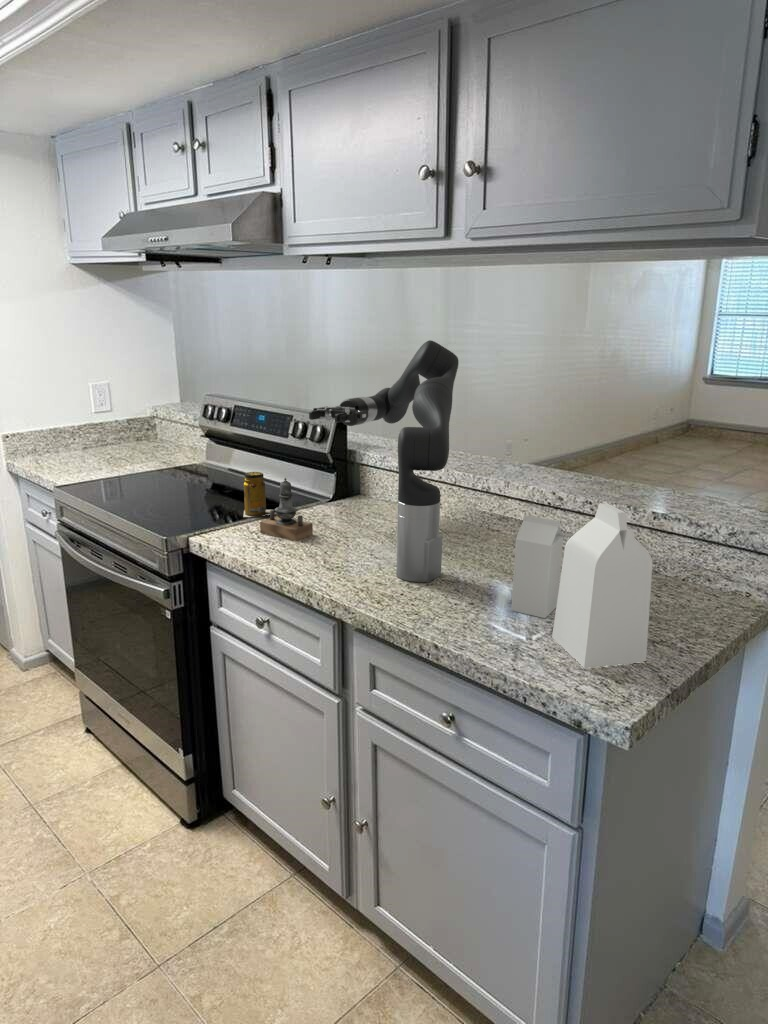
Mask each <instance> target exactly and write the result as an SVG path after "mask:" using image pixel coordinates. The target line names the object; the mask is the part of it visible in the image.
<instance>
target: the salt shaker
mask: <svg viewBox="0 0 768 1024" xmlns="http://www.w3.org/2000/svg"><path fill="white" fill-rule="evenodd" d="M278 496H279V506H278V507H276V508H274V512H275V514H276V516H278V517H279V518H280V519H279V520H278V521H276V523H277V524H279V525H292V524H295V523H296V521H295V520H296V519H295V518H294V517H296V514H297V511H298V508H297V507H295V506H294V505H293V501H292V498H293V496H294V495H293V494H292V484H291V482H290V481H288V480H287V478H286V477H284V480H283V481H281V482H280V484H279V494H278ZM294 519H295V520H294Z"/></svg>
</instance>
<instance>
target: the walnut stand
mask: <svg viewBox="0 0 768 1024" xmlns="http://www.w3.org/2000/svg"><path fill="white" fill-rule="evenodd" d="M269 510H270V516H269V518H267V519H263V520H261V521H259V526H260V527H259V528H260V529H259V532H260V534H264V535H268V536H273V537H278V538H282V539H287V540H289V541H295V542H296V541H299V540H301V539H303V538H306V537H309V536H312V535H313V522H308V521H303V520H304V518H303V515H298V516H297V519H295V518H293V519H294V520H295V521H296V523H295V524H292V525H279V524H277V523H276V521H278V520H279V519H280V518H279V517H278V516H277V515H276V516H275V514H276V513H275V509H269Z"/></svg>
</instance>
